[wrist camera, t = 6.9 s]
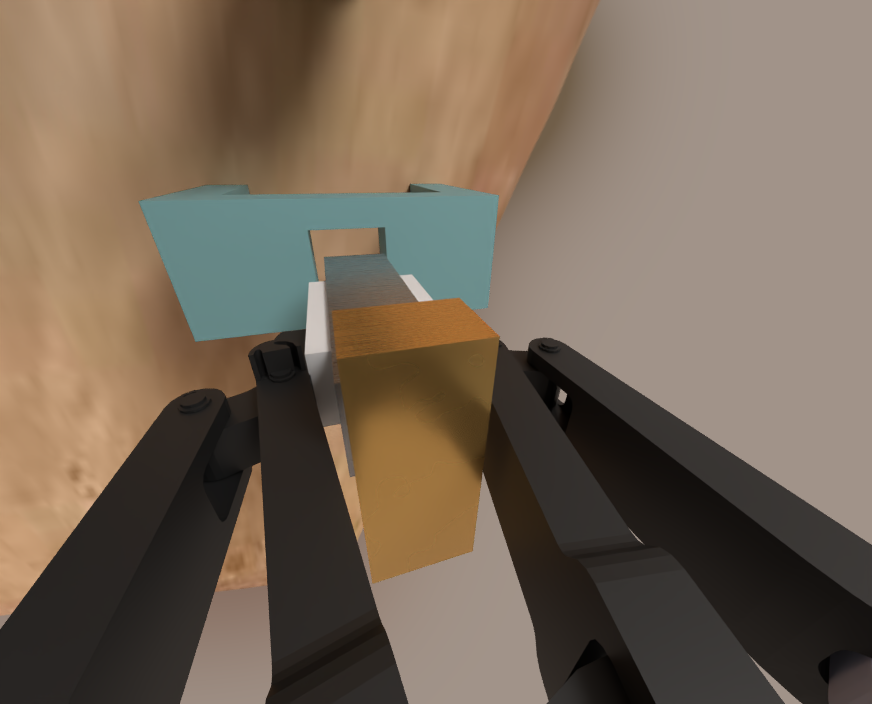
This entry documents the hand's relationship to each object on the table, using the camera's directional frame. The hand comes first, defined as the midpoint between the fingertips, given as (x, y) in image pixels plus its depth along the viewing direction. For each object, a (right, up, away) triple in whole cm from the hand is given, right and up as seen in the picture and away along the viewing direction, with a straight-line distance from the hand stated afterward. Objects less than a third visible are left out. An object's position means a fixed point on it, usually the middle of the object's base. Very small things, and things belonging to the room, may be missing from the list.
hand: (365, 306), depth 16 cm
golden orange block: (-1, +2, +3) cm, 4 cm away
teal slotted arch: (-6, +9, +16) cm, 19 cm away
